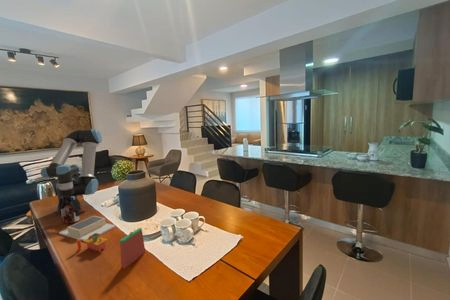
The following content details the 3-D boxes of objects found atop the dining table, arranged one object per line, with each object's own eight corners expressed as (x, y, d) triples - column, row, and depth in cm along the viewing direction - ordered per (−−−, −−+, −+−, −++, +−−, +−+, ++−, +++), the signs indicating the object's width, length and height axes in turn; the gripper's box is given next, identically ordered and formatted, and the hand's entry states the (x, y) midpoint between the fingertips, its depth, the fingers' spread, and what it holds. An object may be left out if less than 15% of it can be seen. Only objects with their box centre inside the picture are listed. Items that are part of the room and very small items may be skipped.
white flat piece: (88, 220, 142) (87, 213, 142) (115, 226, 132) (115, 218, 131) (58, 233, 126) (57, 225, 125) (87, 242, 116) (86, 233, 115)
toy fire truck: (69, 226, 136) (66, 210, 134) (61, 221, 142) (59, 207, 141) (81, 221, 141) (79, 206, 140) (73, 217, 148) (71, 203, 147)
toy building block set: (124, 269, 93) (121, 239, 92) (74, 252, 107) (70, 226, 105) (145, 252, 105) (142, 225, 103) (97, 239, 118) (94, 215, 117)
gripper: (48, 188, 140) (53, 218, 143) (72, 192, 130) (77, 224, 133) (61, 185, 147) (65, 214, 150) (84, 188, 137) (88, 219, 140)
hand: (70, 219), depth 142 cm, fingers open, 13 cm apart
